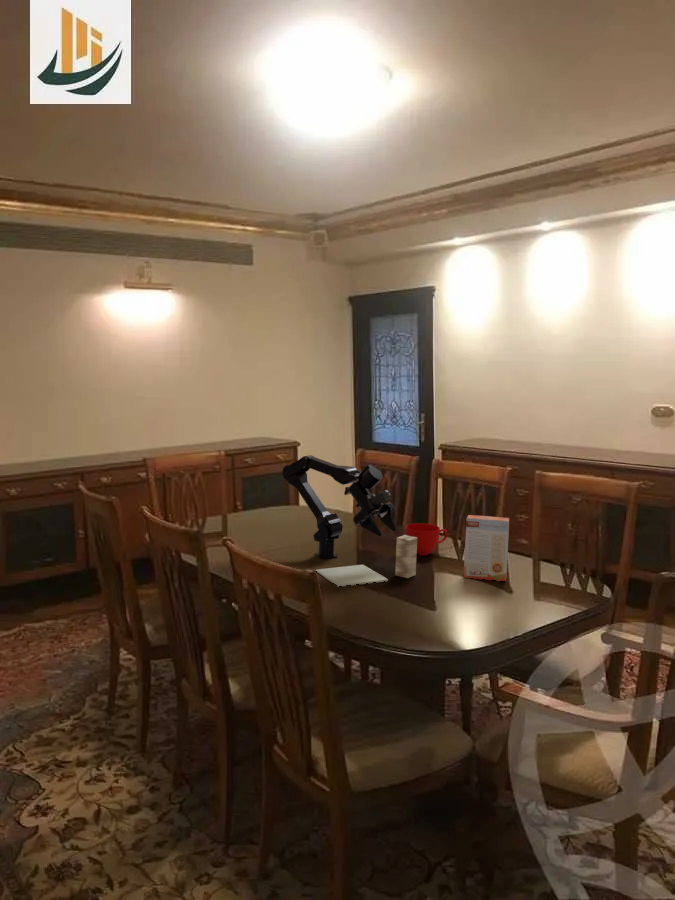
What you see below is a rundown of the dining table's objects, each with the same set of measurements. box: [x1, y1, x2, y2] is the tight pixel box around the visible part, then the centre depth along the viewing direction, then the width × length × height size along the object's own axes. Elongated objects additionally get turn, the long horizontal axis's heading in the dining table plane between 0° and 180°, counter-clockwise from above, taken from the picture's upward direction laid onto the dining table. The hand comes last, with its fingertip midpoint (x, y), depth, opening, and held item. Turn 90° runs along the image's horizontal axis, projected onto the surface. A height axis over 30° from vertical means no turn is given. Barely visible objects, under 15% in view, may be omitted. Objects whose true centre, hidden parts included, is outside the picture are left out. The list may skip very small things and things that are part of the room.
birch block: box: [394, 534, 418, 579], centre depth 246 cm, size 5×5×13 cm
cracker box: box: [463, 514, 510, 582], centre depth 245 cm, size 14×6×21 cm, turn 74°
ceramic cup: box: [404, 522, 449, 556], centre depth 275 cm, size 13×17×10 cm
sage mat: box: [315, 564, 389, 588], centre depth 243 cm, size 18×18×1 cm
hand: (388, 533), depth 249 cm, fingers open, 9 cm apart
